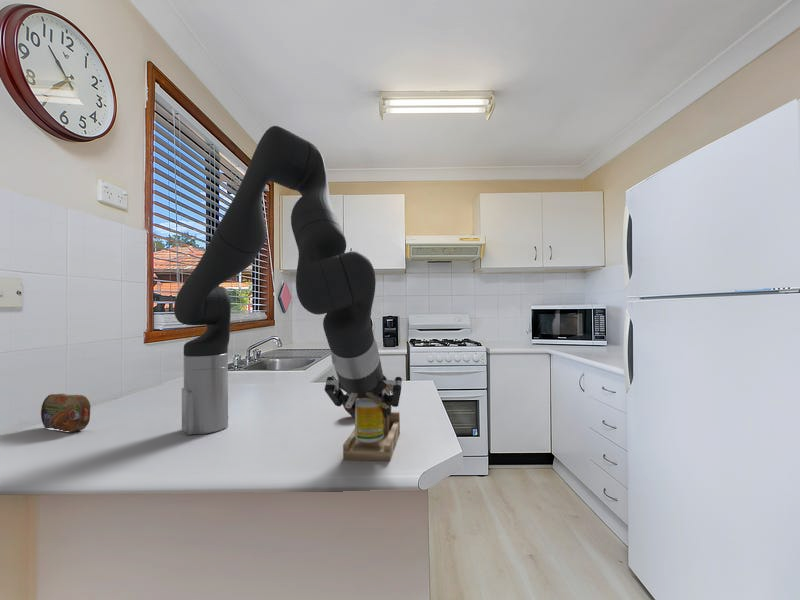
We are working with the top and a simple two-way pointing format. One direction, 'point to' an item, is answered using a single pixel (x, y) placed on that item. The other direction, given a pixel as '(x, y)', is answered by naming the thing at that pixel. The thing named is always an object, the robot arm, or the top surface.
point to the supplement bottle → (368, 421)
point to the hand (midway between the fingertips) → (370, 413)
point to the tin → (65, 412)
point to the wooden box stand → (375, 449)
